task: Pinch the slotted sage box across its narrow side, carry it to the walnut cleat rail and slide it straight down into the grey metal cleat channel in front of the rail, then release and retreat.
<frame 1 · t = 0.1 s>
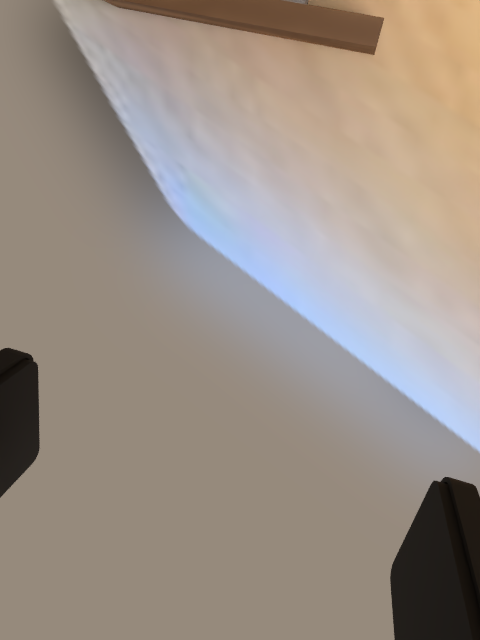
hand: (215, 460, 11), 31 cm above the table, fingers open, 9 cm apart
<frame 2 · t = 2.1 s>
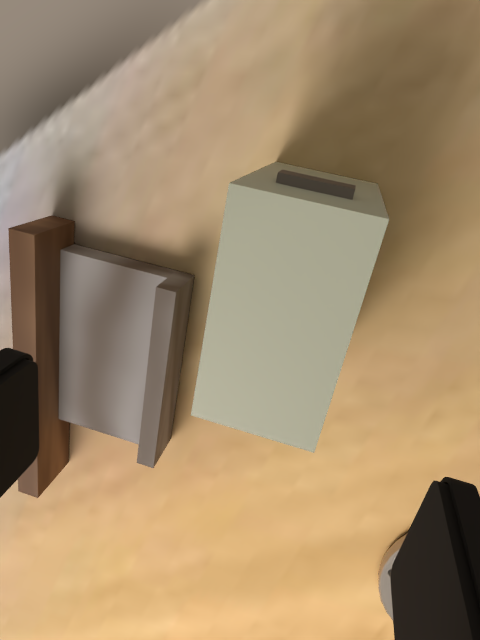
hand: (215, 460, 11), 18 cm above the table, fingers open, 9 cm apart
slotted sage box: (303, 261, 26), on the table
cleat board: (117, 346, 32), on the table
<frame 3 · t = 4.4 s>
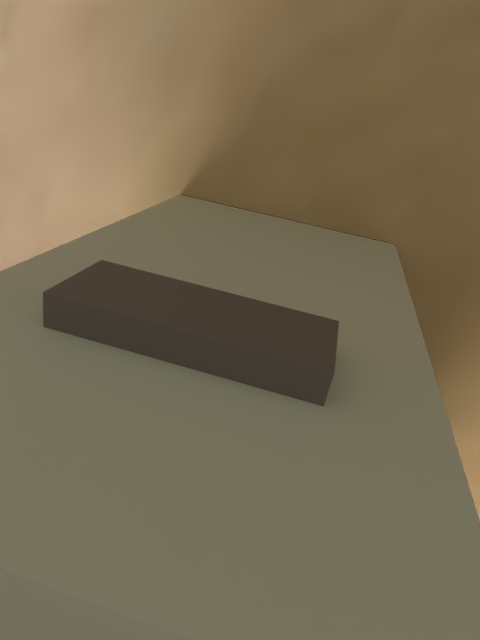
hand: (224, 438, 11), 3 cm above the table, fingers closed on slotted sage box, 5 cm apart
slotted sage box: (247, 384, 14), on the table, touching gripper
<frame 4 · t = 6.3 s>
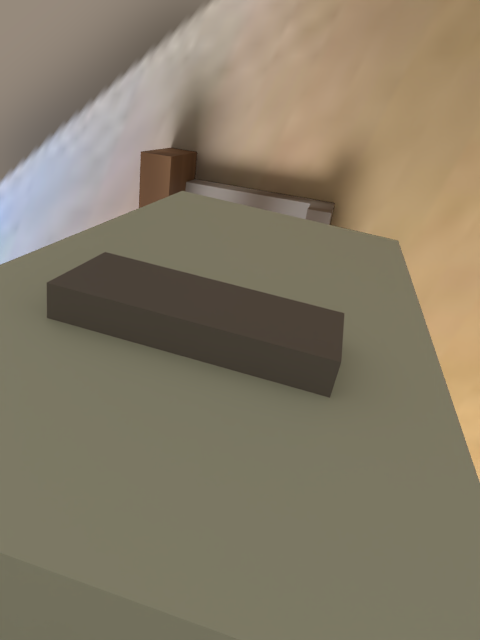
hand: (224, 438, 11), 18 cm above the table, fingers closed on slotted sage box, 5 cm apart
slotted sage box: (249, 381, 14), point 15 cm above the table, touching gripper
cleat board: (238, 293, 29), on the table
when the fingers open (5 cm above the table, at t = 9.2 s): slotted sage box stays where it is, resting on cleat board.
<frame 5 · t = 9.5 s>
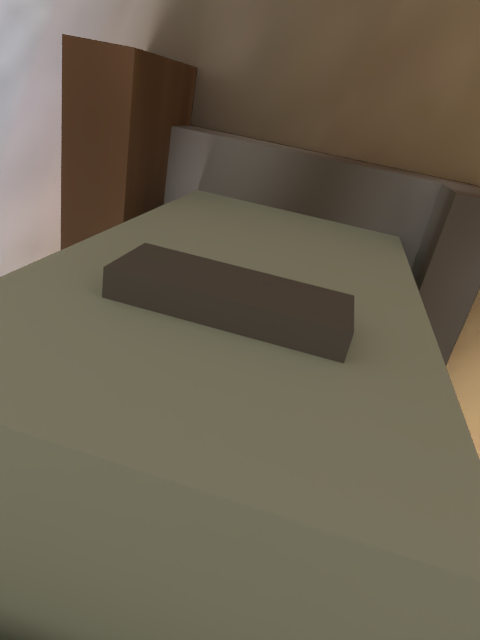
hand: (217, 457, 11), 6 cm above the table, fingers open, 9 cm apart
slotted sage box: (258, 370, 14), point 1 cm above the table, touching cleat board
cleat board: (262, 348, 16), on the table
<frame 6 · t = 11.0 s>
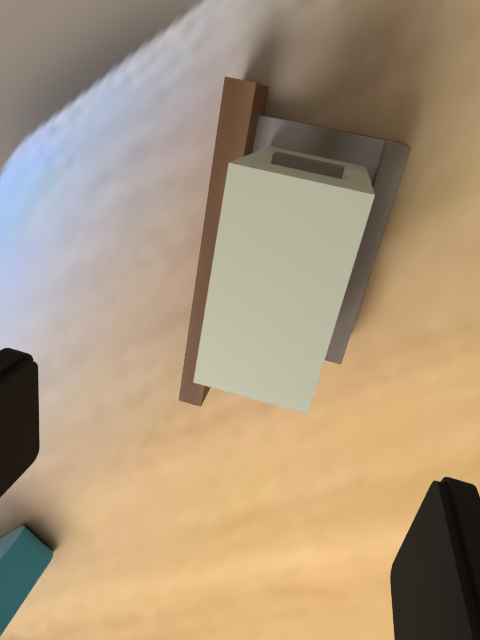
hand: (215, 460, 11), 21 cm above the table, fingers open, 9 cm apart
slotted sage box: (296, 241, 28), point 1 cm above the table, touching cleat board
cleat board: (296, 235, 29), on the table
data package: (14, 551, 50), on the table
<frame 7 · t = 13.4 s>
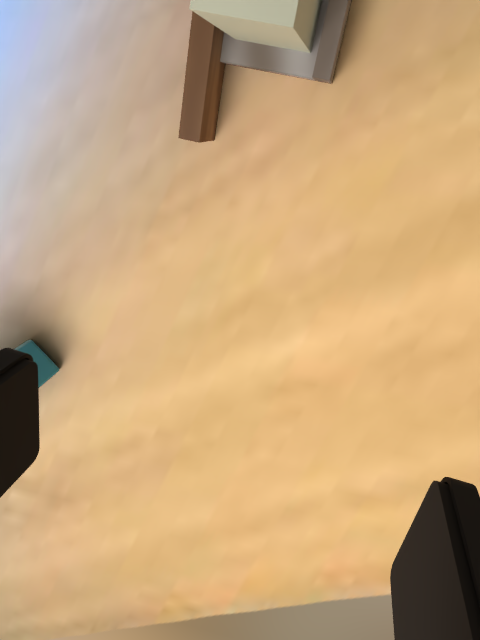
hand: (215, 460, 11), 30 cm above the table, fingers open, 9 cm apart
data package: (22, 375, 52), on the table
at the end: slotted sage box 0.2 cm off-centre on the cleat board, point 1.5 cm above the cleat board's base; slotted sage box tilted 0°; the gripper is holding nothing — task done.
